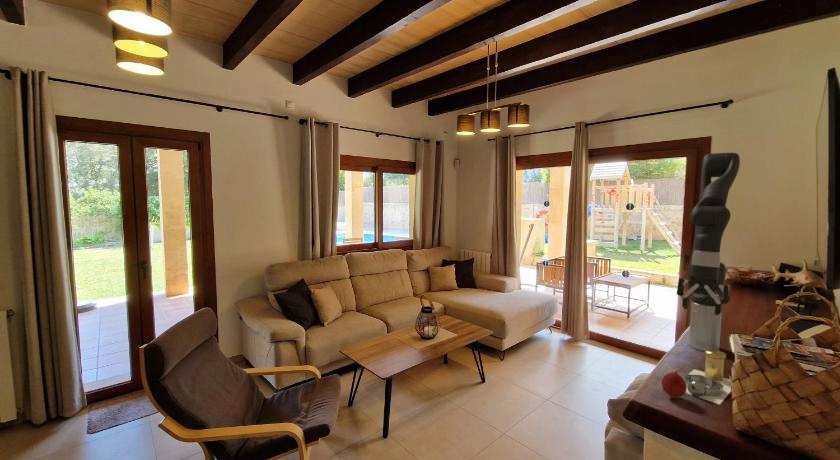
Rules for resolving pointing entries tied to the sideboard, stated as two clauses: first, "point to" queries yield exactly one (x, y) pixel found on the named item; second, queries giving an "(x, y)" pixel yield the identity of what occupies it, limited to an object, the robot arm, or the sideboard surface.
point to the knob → (714, 364)
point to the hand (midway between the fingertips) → (700, 311)
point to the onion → (674, 384)
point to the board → (714, 399)
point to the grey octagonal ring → (698, 388)
